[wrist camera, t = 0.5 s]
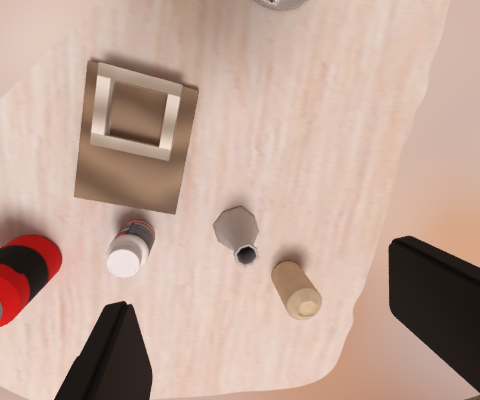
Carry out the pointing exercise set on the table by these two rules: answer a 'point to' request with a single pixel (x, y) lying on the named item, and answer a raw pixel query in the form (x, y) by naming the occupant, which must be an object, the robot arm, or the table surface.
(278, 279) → the candle
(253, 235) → the flask
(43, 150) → the table surface
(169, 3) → the table surface
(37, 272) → the soda can
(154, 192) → the socket board
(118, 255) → the pill bottle
